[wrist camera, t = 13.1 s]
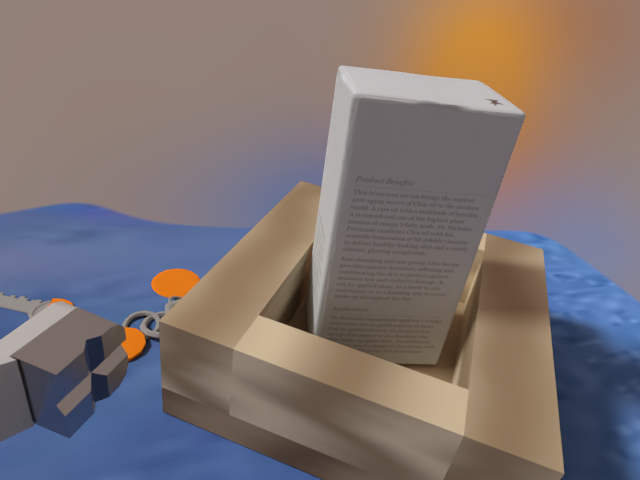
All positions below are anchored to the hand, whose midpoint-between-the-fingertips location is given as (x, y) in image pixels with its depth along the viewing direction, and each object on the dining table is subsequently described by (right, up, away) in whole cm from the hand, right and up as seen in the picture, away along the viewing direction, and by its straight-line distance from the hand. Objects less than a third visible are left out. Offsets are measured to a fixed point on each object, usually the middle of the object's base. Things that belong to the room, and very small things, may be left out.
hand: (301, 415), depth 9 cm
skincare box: (+3, -1, +14) cm, 15 cm away
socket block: (+3, -3, +15) cm, 15 cm away
